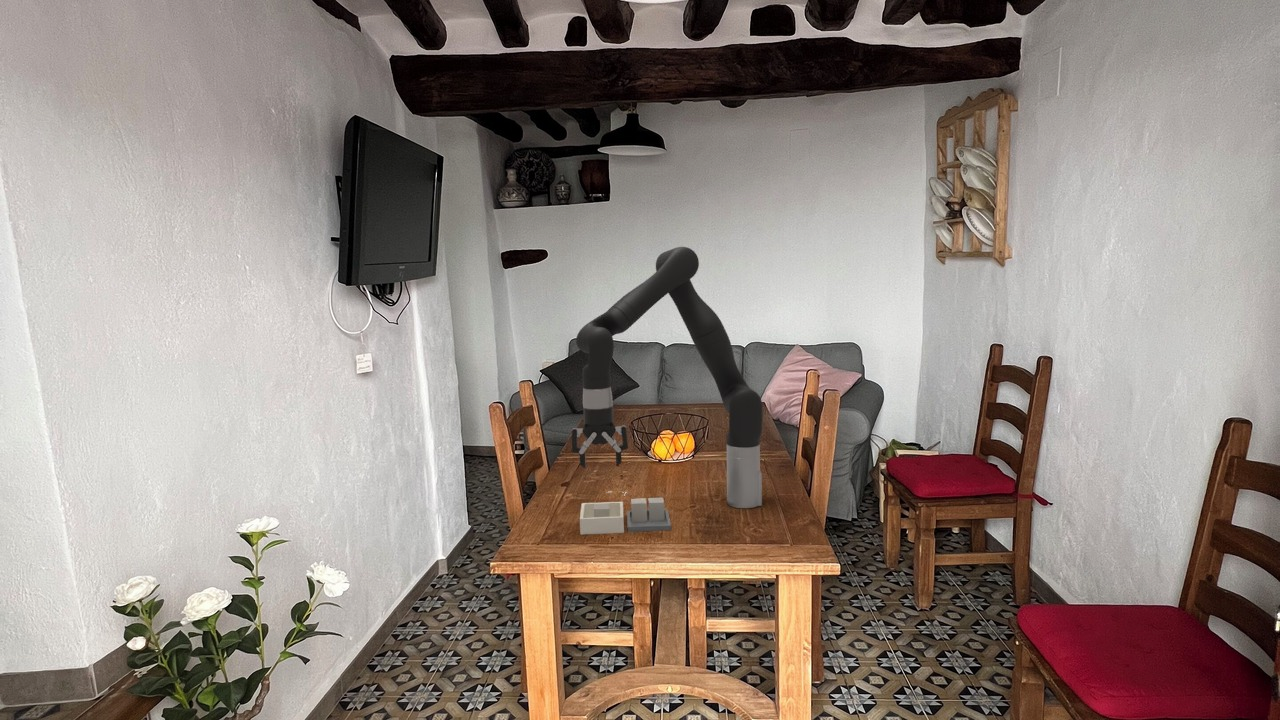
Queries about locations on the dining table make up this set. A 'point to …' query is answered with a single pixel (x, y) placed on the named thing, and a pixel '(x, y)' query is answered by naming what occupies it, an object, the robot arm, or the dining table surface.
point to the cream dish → (601, 519)
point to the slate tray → (648, 523)
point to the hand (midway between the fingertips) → (601, 466)
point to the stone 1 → (601, 510)
